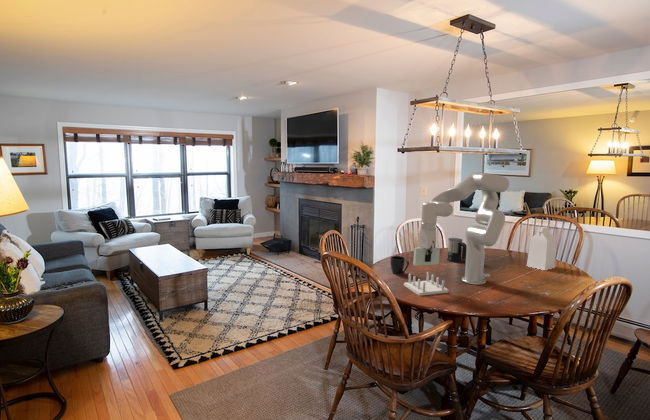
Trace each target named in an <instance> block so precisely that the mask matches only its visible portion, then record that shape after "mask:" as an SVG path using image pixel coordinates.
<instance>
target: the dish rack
mask: <svg viewBox="0 0 650 420" xmlns="http://www.w3.org/2000/svg"><path fill="white" fill-rule="evenodd" d="M429 277H430V271H426V279H425V280H422V279H421V278H418V279H417V281H416V278H417V276H416V275H415V276H414V275H413V276H412V273H408V282H407V281H406V282H403V286H404V287H406V288H407V289H409V290H410V291H412V292H413V293H414V294H416V295H417V296H431V295H438V294H448V293H449V291H450V290H449V289H448V288H447V287H445V281H446V280H445V279H441V284H440V277H439V276H437V277H436V281H434V280H435V274H431V279H430V280H429Z"/></svg>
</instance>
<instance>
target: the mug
mask: <svg viewBox="0 0 650 420" xmlns="http://www.w3.org/2000/svg"><path fill="white" fill-rule="evenodd" d="M405 262H406V266H405ZM409 266H410V261H408V260H405V257H404V256H399V255H393V256H390V269H391V273H392V274H393V275H397V274H400V275H403V274H405V272H406V270H407V269H408V267H409ZM404 267H405V268H404Z"/></svg>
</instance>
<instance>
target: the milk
mask: <svg viewBox="0 0 650 420" xmlns="http://www.w3.org/2000/svg"><path fill="white" fill-rule="evenodd" d="M528 247H529V248H528V255H527V260H526V261H527V262H526V267H527V266H528V267H529V268H531V267H532V269H535V268H537V269H536V270H539V269H541V271H543V270H546V271H549V270H548V269H550V270H552V268H553V269H555V268H556V254H557V253H556V250H557V249H556V247H557V239H556V237H555V236H554V235H553V234H552V233H551V232H550V231H549V227H548V226H542V227H540V229H539V232H537V233H535V235H533V236H532V237H530V241H529V246H528ZM528 267H527V268H528Z"/></svg>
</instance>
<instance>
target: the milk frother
mask: <svg viewBox="0 0 650 420" xmlns="http://www.w3.org/2000/svg"><path fill="white" fill-rule="evenodd" d="M447 240H448V245H447V259H446V260H447V261H448V262H453V263H460V262H462V261H466V250H467V243H465V242H463V239H462V238H458V237H449V238H447Z"/></svg>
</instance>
